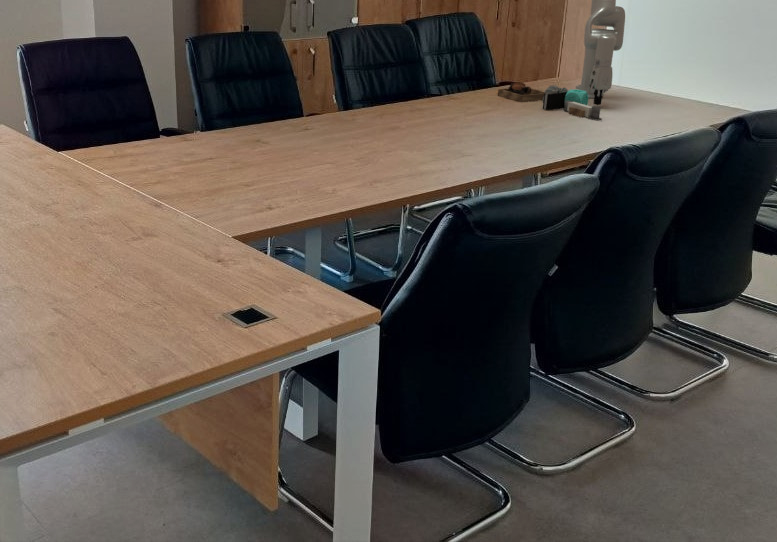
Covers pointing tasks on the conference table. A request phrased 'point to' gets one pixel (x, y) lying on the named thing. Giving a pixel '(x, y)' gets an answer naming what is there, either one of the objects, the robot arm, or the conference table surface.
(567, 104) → the leg
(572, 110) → the brown and grey piece
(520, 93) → the pottery mug
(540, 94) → the wooden picture frame
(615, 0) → the robot arm
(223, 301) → the conference table surface
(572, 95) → the decorative dice
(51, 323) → the conference table surface
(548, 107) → the camera
